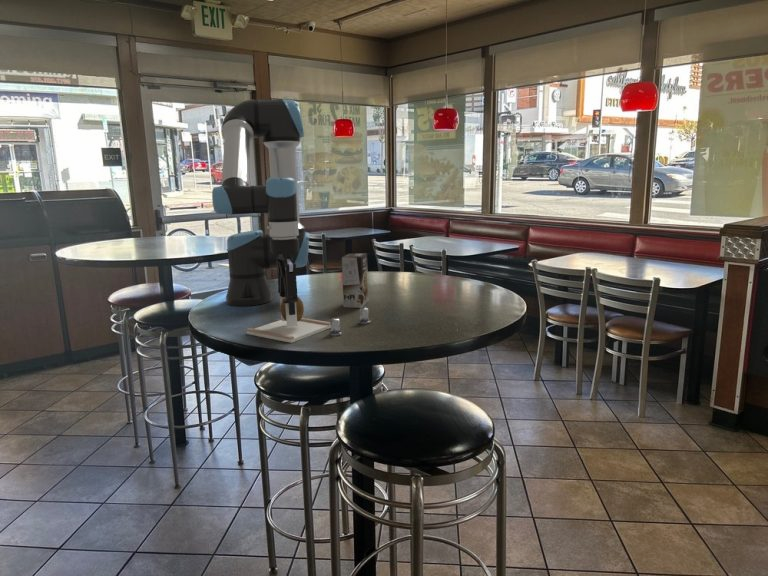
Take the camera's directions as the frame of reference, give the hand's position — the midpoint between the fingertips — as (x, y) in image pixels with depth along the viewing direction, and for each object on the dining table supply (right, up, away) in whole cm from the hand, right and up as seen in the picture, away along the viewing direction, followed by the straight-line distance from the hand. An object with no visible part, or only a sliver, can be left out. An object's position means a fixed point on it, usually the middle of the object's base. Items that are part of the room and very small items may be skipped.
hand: (289, 323), depth 149 cm
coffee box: (+17, +4, +28) cm, 33 cm away
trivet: (0, -2, +1) cm, 2 cm away
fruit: (+1, 0, 0) cm, 1 cm away
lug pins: (+16, -1, +2) cm, 17 cm away
